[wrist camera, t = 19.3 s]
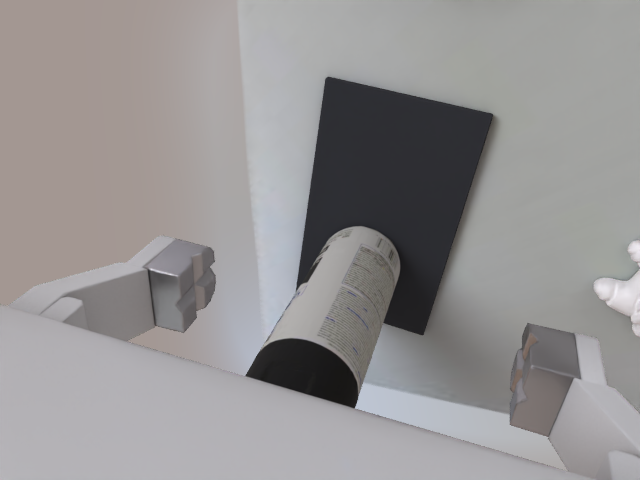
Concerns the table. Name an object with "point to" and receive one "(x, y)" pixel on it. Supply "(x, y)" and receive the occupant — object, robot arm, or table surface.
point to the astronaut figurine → (623, 291)
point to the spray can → (333, 319)
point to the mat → (393, 183)
